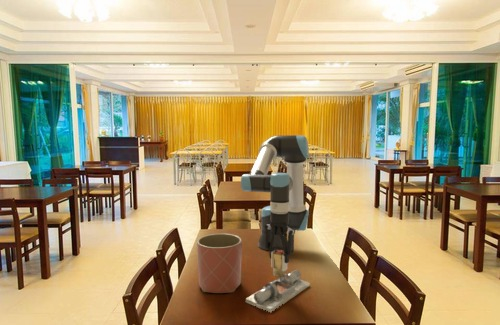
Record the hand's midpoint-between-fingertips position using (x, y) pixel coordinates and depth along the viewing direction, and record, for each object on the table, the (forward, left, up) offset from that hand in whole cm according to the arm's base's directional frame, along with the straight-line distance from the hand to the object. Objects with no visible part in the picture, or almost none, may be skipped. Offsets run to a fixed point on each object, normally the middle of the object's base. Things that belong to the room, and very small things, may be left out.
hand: (279, 268), depth 137 cm
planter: (+10, -24, -11) cm, 28 cm away
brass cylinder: (0, 0, -3) cm, 3 cm away
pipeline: (0, 0, -11) cm, 11 cm away
